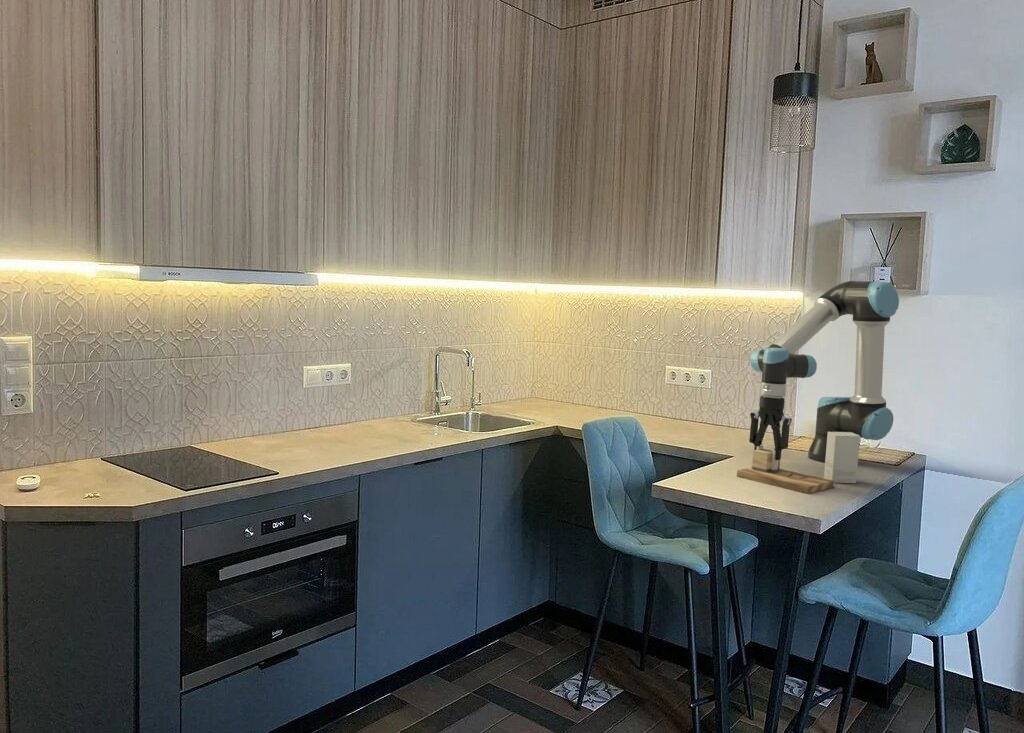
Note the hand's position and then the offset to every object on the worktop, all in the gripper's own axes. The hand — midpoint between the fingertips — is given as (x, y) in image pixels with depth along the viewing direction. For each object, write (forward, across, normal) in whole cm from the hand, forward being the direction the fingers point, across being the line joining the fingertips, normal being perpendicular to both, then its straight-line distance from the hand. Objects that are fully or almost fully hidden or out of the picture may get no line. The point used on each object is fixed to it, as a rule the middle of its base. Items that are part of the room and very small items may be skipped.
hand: (766, 467), depth 254 cm
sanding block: (0, 0, 0) cm, 1 cm away
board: (+3, +8, -2) cm, 8 cm away
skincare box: (+3, +17, +16) cm, 23 cm away
